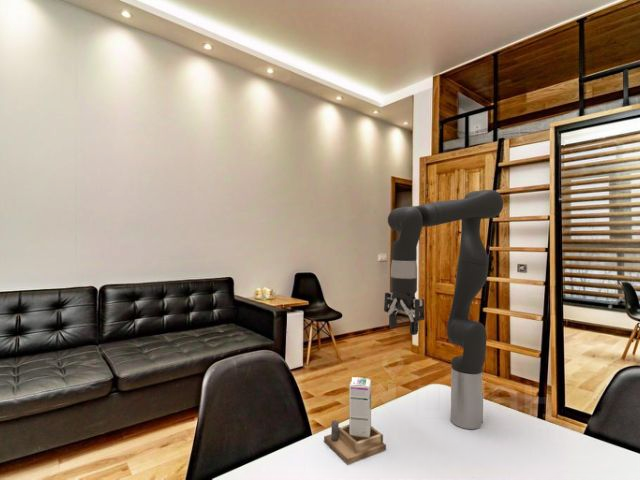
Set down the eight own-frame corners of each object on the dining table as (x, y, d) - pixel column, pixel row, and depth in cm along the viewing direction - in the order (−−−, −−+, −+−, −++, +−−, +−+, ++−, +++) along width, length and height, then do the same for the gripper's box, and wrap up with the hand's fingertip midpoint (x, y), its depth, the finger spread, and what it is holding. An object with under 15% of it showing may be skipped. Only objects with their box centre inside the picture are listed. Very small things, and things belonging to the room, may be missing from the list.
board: (360, 429, 112) (360, 408, 111) (386, 450, 101) (386, 427, 101) (324, 441, 105) (324, 419, 105) (347, 464, 95) (348, 440, 95)
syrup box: (369, 438, 100) (370, 386, 100) (348, 435, 101) (349, 384, 101) (371, 427, 106) (371, 378, 105) (350, 425, 107) (351, 376, 106)
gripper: (431, 277, 102) (430, 335, 102) (396, 272, 114) (395, 324, 114) (412, 279, 98) (411, 339, 98) (378, 273, 110) (377, 326, 110)
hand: (402, 330), depth 106 cm, fingers open, 8 cm apart
